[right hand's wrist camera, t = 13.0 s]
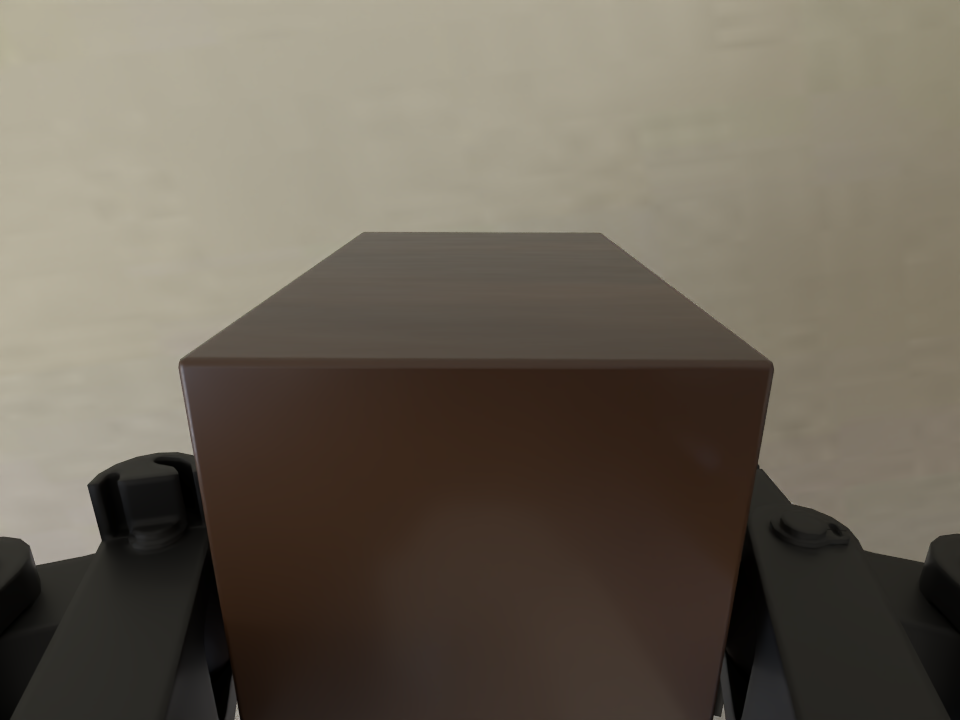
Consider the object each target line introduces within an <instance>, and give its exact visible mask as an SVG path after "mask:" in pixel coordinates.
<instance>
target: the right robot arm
mask: <svg viewBox="0 0 960 720" xmlns="http://www.w3.org/2000/svg"><path fill="white" fill-rule="evenodd" d="M87 486H88V489H89V493H90V497H91V501H92V505H93V509H94V512H95V516H96V520H97V524H98V528H99V531H100V535H101V539H102V542H101V544H100V546H99V548H98V550H97V552H96V553H95V554H91V555H87V556H83V557H77V558H72V559H67V560H62V561H57V562H52V563H47V564H41V565H35V562H34V558H33V555H32V552H31V549H30V546H29V545H28V544H27V543H25V542H24V541H22V540H21V539H17V538H10V537H0V720H234V719H235V711H236V703H237V698H236V692H235V686H234V681H233V675H232V669H231V664H230V658H229V652H228V646H227V641H226V635H225V629H224V624H223V618H222V612H221V607H220V601H219V595H218V590H217V584H216V578H215V572H214V567H213V561H212V555H211V550H210V544H209V538H208V533H207V527H206V521H205V515H204V510H203V504H202V498H201V493H200V487H199V481H198V476H197V470H196V464H195V458H194V456H193V455H189V454H184V453H179V452H170V453H155V454H150V455H145V456H139V457H135V458H133V459H130V460H127V461H124V462H121V463H118V464H116V465H114V466H112V467H110V468H109V469H107V470H105V471H103V472H101V473H100V474H98V475H97V476H96V477H95V478H94V479H93V480H92V481H91V482H90V483H89V484H88V485H87ZM723 704H724V710H725V717H726V720H960V534H951V535H944V536H939V537H938V538H937V539H935V540H934V541H933V542H931V544H930V547H929V550H928V553H927V557H926V560H925V563H923V562H918V561H912V560H907V559H902V558H897V557H892V556H887V555H881V554H876V553H872V552H868V551H864V550H863V549H862V547H861V545H860V543H859V541H858V539H857V538H856V537H855V536H854V535H853V533H852V532H851V531H850V530H849V529H848V528H847V527H846V526H844V525H843V524H841V523H840V522H838V521H837V520H835V519H834V518H832V517H830V516H828V515H825V514H823V513H821V512H818V511H816V510H813V509H810V508H806V507H802V506H797V505H793V504H791V503H790V501H789V500H788V499H787V498H786V497H785V496H784V494H783V493H782V492H781V491H780V490H779V488H778V487H777V486H776V485H775V484H774V483H773V481H772V480H771V479H770V478H769V477H768V475H767V474H766V473H765V472H764V471H763V470H762V469H759V465H757V470H756V476H755V482H754V487H753V493H752V499H751V505H750V510H749V516H748V522H747V527H746V533H745V539H744V545H743V550H742V556H741V562H740V567H739V573H738V579H737V585H736V590H735V596H734V602H733V607H732V613H731V619H730V625H729V630H728V636H727V642H726V647H725V653H724V659H723V664H722V670H721V676H720V682H719V687H718V693H717V699H716V704H715V710H714V716H719V717H721V713H722V708H723Z"/></svg>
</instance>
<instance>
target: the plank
mask: <svg viewBox="0 0 960 720" xmlns="http://www.w3.org/2000/svg"><path fill="white" fill-rule="evenodd" d="M179 373H180V379H181V384H182V390H183V396H184V402H185V407H186V413H187V419H188V424H189V430H190V436H191V441H192V447H193V453H194V458H195V464H196V470H197V476H198V481H199V487H200V493H201V498H202V504H203V510H204V515H205V521H206V527H207V533H208V538H209V544H210V550H211V555H212V561H213V567H214V572H215V578H216V584H217V590H218V595H219V601H220V607H221V612H222V618H223V624H224V629H225V635H226V641H227V646H228V652H229V658H230V664H231V669H232V675H233V681H234V686H235V692H236V698H237V703H238V709H239V715H240V720H713V716H714V710H715V704H716V699H717V693H718V687H719V682H720V676H721V670H722V664H723V659H724V653H725V647H726V642H727V636H728V630H729V625H730V619H731V613H732V607H733V602H734V596H735V590H736V585H737V579H738V573H739V567H740V562H741V556H742V550H743V545H744V539H745V533H746V527H747V522H748V516H749V510H750V505H751V499H752V493H753V487H754V482H755V476H756V470H757V465H758V459H759V453H760V447H761V442H762V436H763V430H764V425H765V419H766V413H767V407H768V402H769V396H770V390H771V385H772V379H773V373H774V367H773V363H772V362H771V361H770V360H769V359H767V358H766V357H765V356H763V355H762V354H761V353H759V352H758V351H757V350H755V349H754V348H753V347H751V346H750V345H749V344H747V343H746V342H745V341H743V340H742V339H741V338H739V337H738V336H737V335H735V334H734V333H733V332H731V331H730V330H729V329H727V328H726V327H725V326H723V325H722V324H721V323H719V322H718V321H717V320H716V319H714V318H713V317H712V316H710V315H709V314H708V313H706V312H705V311H704V310H702V309H701V308H700V307H698V306H697V305H696V304H694V303H693V302H692V301H690V300H689V299H688V298H686V297H685V296H684V295H682V294H681V293H680V292H678V291H677V290H676V289H674V288H673V287H672V286H670V285H669V284H668V283H666V282H665V281H664V280H662V279H661V278H660V277H658V276H657V275H656V274H654V273H653V272H652V271H650V270H649V269H648V268H646V267H645V266H644V265H642V264H641V263H640V262H639V261H637V260H636V259H635V258H633V257H632V256H631V255H629V254H628V253H627V252H625V251H624V250H623V249H621V248H620V247H619V246H617V245H616V244H615V243H613V242H612V241H611V240H609V239H608V238H607V237H605V236H604V235H603V234H601V233H473V232H364V233H362V234H360V235H359V236H357V237H356V238H354V239H353V240H351V241H350V242H349V243H347V244H346V245H344V246H343V247H341V248H340V249H338V250H337V251H336V252H334V253H333V254H331V255H330V256H328V257H327V258H326V259H324V260H323V261H321V262H320V263H318V264H317V265H315V266H314V267H313V268H311V269H310V270H308V271H307V272H305V273H304V274H303V275H301V276H300V277H298V278H297V279H295V280H294V281H292V282H291V283H290V284H288V285H287V286H285V287H284V288H282V289H281V290H280V291H278V292H277V293H275V294H274V295H272V296H271V297H269V298H268V299H267V300H265V301H264V302H262V303H261V304H259V305H258V306H256V307H255V308H254V309H252V310H251V311H249V312H248V313H246V314H245V315H244V316H242V317H241V318H239V319H238V320H236V321H235V322H233V323H232V324H231V325H229V326H228V327H226V328H225V329H223V330H222V331H221V332H219V333H218V334H216V335H215V336H213V337H212V338H210V339H209V340H208V341H206V342H205V343H203V344H202V345H200V346H199V347H197V348H196V349H195V350H193V351H192V352H190V353H189V354H187V355H186V356H185V357H183V358H182V359H180V362H179Z"/></svg>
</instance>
